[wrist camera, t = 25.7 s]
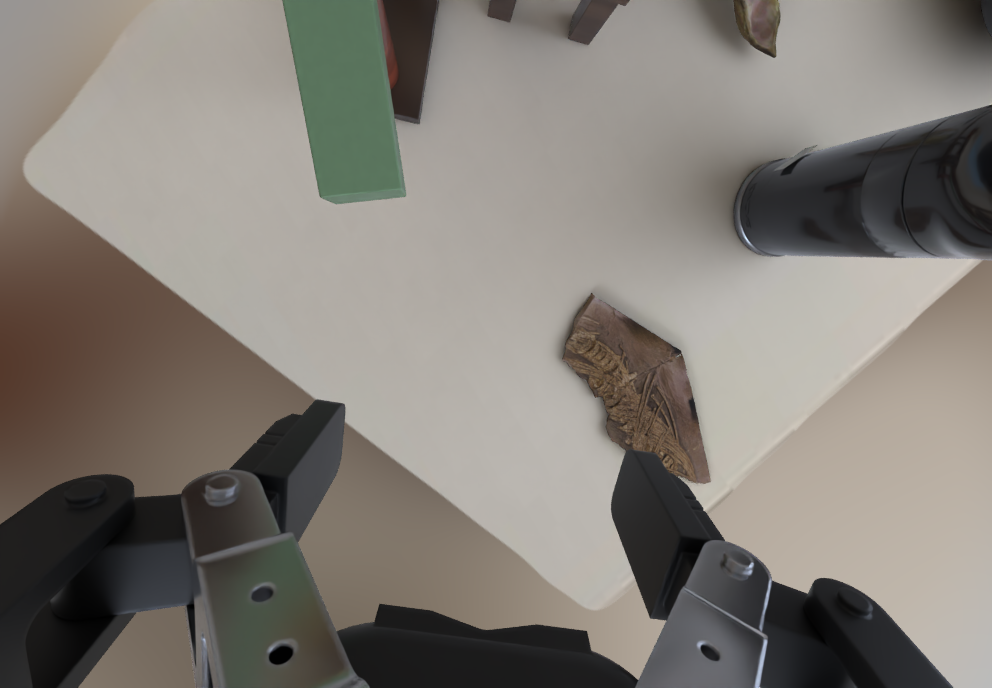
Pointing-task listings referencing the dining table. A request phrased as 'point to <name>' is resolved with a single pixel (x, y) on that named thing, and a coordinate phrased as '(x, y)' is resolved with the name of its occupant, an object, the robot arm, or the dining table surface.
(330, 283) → the dining table surface
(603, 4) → the stand
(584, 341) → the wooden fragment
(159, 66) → the dining table surface
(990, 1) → the bowl of black rocks
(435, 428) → the dining table surface
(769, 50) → the ceramic sculpture
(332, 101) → the bar
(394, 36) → the rods
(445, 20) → the dining table surface
